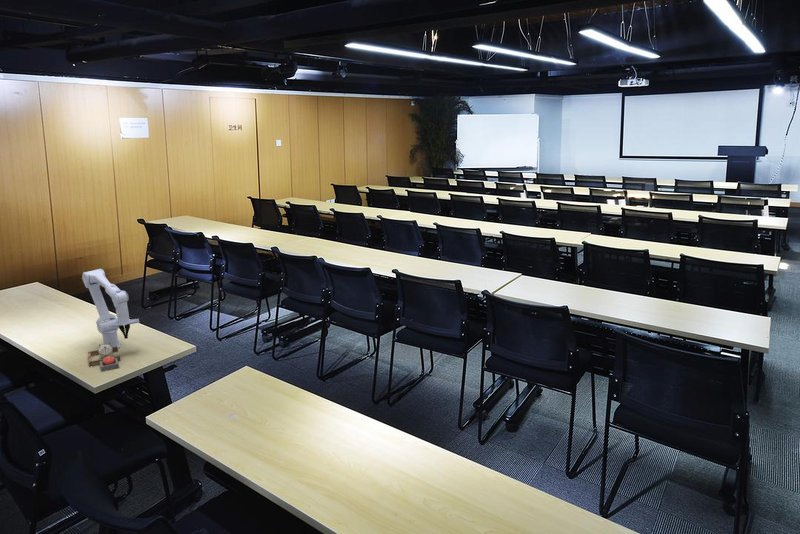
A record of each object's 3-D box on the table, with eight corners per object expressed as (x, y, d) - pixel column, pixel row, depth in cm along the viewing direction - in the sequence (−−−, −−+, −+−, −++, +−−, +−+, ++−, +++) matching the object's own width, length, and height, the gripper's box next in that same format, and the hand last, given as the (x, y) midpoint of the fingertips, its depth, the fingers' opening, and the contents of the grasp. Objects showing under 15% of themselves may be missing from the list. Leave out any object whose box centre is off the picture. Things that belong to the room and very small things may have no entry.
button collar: (100, 365, 281) (99, 361, 281) (117, 362, 285) (117, 357, 285) (101, 371, 275) (100, 367, 274) (119, 367, 279) (118, 363, 278)
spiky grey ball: (109, 365, 290) (107, 356, 283) (94, 360, 289) (91, 350, 282) (119, 352, 296) (117, 342, 289) (103, 346, 295) (101, 336, 288)
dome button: (103, 363, 280) (102, 355, 279) (114, 361, 283) (113, 353, 282) (104, 366, 276) (102, 359, 275) (115, 364, 279) (113, 357, 278)
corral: (88, 356, 293) (87, 351, 292) (117, 350, 300) (117, 346, 299) (89, 366, 280) (89, 362, 279) (120, 360, 287) (119, 356, 286)
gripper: (107, 318, 283) (111, 343, 286) (138, 313, 290) (141, 337, 294) (106, 314, 288) (110, 338, 292) (136, 309, 296) (140, 333, 299)
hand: (126, 337), depth 293 cm, fingers closed
